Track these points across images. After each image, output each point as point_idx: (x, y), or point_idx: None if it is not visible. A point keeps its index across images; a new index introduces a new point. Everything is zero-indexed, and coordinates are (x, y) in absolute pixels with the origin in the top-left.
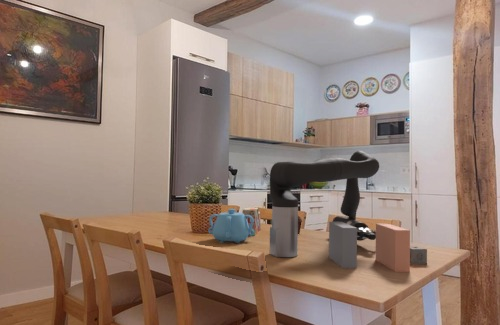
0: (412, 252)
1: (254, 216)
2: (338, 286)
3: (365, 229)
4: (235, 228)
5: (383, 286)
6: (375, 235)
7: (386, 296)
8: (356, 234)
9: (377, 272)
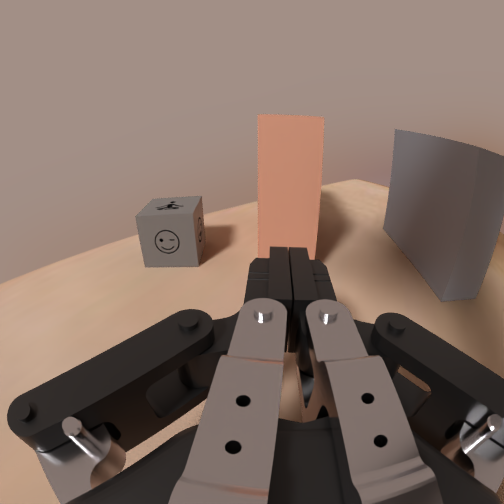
0: (202, 208)
1: None
2: None
3: (269, 490)
4: None
5: (345, 190)
6: (258, 262)
7: (347, 181)
8: (395, 146)
9: (340, 213)
